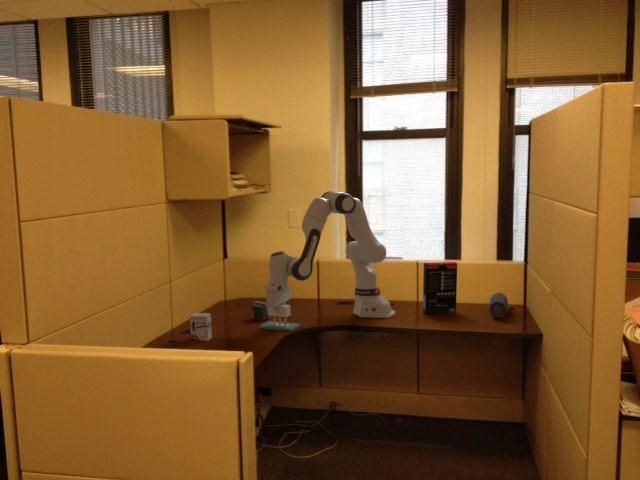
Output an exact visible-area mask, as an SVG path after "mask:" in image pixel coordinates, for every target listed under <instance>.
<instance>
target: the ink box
mask: <svg viewBox="0 0 640 480" xmlns="http://www.w3.org/2000/svg"><path fill="white" fill-rule="evenodd" d="M211 315H212V314H211V313H209V312H207V313H206V312H202V313H201V312H195V313H194V312H193V313H192V314H191V315H189V323H190V324H189V325H190V340H191V339H195V340H194V341H204V340H205V341H206V342H207V341H209V340H211V339H213V338H212V336H213V335H212V316H211Z"/></svg>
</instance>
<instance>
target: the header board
mask: <svg viewBox="0 0 640 480" xmlns="http://www.w3.org/2000/svg"><path fill="white" fill-rule="evenodd" d="M276 317H277V316H272V318H273V319H272V320H273V321H272V320H268V321H266V322H264V323H262V324H260V325H258V327H259V329H265V330H275V331H285V332H293V331H295V330H297V329H298V327H299V328H301V326H302V324H301V323H296V322H287V317H283V321H282V317H278V321H277V319H276Z"/></svg>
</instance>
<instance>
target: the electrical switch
mask: <svg viewBox="0 0 640 480" xmlns="http://www.w3.org/2000/svg"><path fill="white" fill-rule="evenodd" d="M251 310H252V312H253V316H254V318H255V319H258V320H261V321H266V320H270V319H271V316H268V306H267V303H266V302H263V301H257V300H255V301H253V304H251Z"/></svg>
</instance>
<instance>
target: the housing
mask: <svg viewBox="0 0 640 480" xmlns="http://www.w3.org/2000/svg"><path fill="white" fill-rule="evenodd" d="M278 310H279V313H278V314H275V312H274V308H273V307H268V316H270V317H278V318H287V317H289V316H291V315H292V313H291V305H290V304H285V305H282V304H279V305H278Z"/></svg>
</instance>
